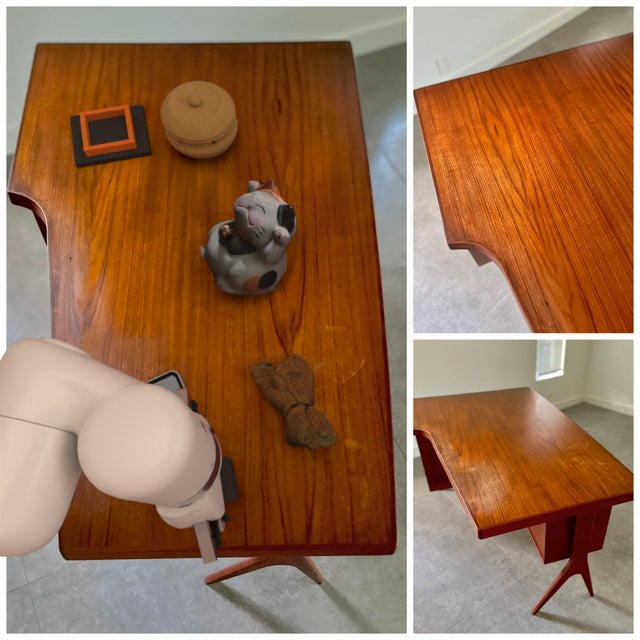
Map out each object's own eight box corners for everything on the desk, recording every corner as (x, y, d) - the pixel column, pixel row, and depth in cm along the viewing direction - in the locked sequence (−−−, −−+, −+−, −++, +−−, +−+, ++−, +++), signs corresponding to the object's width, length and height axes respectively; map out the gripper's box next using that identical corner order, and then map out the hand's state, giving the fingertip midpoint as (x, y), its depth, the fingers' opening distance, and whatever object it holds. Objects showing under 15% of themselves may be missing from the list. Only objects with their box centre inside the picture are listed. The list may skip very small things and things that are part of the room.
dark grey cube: (201, 508, 68) (194, 509, 63) (194, 469, 70) (186, 466, 64) (239, 498, 69) (236, 498, 63) (232, 459, 70) (227, 456, 65)
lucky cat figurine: (193, 234, 83) (211, 156, 73) (265, 238, 88) (290, 166, 79) (213, 304, 74) (236, 225, 65) (292, 304, 80) (323, 231, 70)
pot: (237, 171, 87) (230, 128, 78) (165, 168, 87) (149, 125, 78) (242, 114, 92) (236, 68, 82) (174, 111, 91) (160, 64, 82)
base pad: (77, 168, 86) (71, 158, 84) (72, 120, 90) (66, 109, 88) (151, 155, 88) (148, 144, 86) (143, 108, 91) (139, 97, 89)
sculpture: (291, 453, 60) (263, 333, 66) (269, 471, 69) (246, 364, 75) (355, 440, 64) (323, 327, 69) (326, 459, 72) (300, 357, 78)
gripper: (117, 373, 47) (164, 412, 63) (143, 582, 41) (188, 567, 57) (201, 353, 48) (227, 397, 64) (238, 556, 42) (256, 548, 58)
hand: (208, 477), depth 61 cm, fingers open, 9 cm apart
